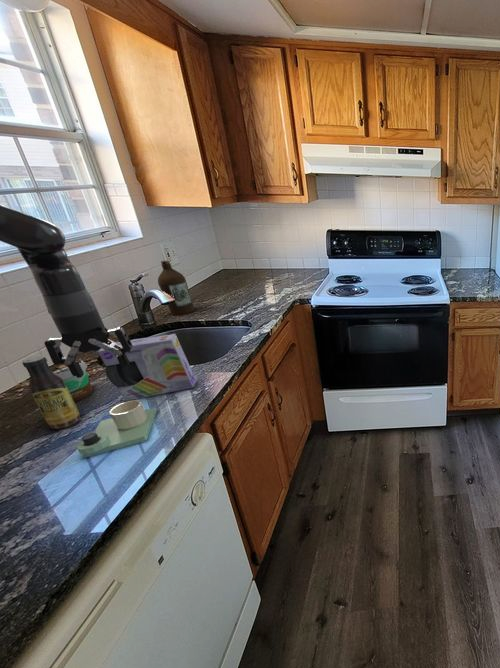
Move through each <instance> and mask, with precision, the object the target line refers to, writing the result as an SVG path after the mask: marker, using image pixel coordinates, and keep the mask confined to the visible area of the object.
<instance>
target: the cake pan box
mask: <svg viewBox="0 0 500 668" xmlns="http://www.w3.org/2000/svg"><path fill="white" fill-rule="evenodd" d="M130 341H131V343H132V345H133V347H132V348H131V350H130V351H129V352H126V355H127V358H128V360H129V364H128V366H127V368H126V369H122V368H121V366H120V364H119V362H118V359H117V357H116V356H117V355H116V354H114V353H112V352H110V351H106V350H104V349H102V348H101V349H100V350H97V353H98V355H99V357H100V358H101V361H102V362H103V364H104V365H105V368H104V369H105V374H106V377H107V379H108V380H109V382H110V383H111V384H112V385H114V387H116V388H117V389H118V391H119V393H120V394H121V396H122V398H123V400H124V402H127V401H131V400H138V399H143V398H147V397H152V396H153V397H154V396H157V395H163V394H168V393H173V392H179V391H184V390H188V389H193V388H194V386H195V385H196V383H197V379H196V376H195V374H194V372H193V370H192V367H191V366H190V363H189V361H188V358H187V356H186V354H185V352H184V350H183V347H182V345H181V343H180V341H179V339H178V336H177V334H176V333H171V334H166V335H159V336H158V335H157V336H151V337H141V338H134V339H130ZM115 343H116V344H117V345H119V346H121V347H122V345H121V343H120V341H117V342H115Z"/></svg>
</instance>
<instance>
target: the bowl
mask: <svg viewBox="0 0 500 668" xmlns="http://www.w3.org/2000/svg"><path fill="white" fill-rule="evenodd" d="M145 410H146V409H145V408H144V405H143V403H142V402H141V400H138V399H133V400H127V401H124V402H121V403H119V404H117V405H115V406H113V407H112V408H111V409H110V410H109V412H108V413H109V415H110V418H112V419H113V421H114V423H115V425H116V426H117V428H119V429H131V428H134V427H136V426H139V425H140V424H142V423H143V422H144V421H145V420H146V419H147V414H146V412H145Z"/></svg>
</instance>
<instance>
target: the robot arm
mask: <svg viewBox="0 0 500 668" xmlns="http://www.w3.org/2000/svg"><path fill="white" fill-rule="evenodd" d="M0 242H2V243H4V244H7V245H9V246H11V247H15V248H16V249H17V251H18V252H19V253H20V255H21V257H22V258H23V260H24V262H25V263H26V264H27V266H28V268H29V269H30V271H31V274H32V277H33V279H34V282H35V283H36V286H37V288H38V290H39V292H40V293H41V296H42V298H43V302H44V305H45V307H46V309H47V313H48V314H49V315H50V317H51V318H52V320H53V322H54V325H55V326H56V329H57V331H58V332H59V334H60V335H61V337H54V336H50V337H48V338H47V339H46V340H45V341H44V346H45V348H46V351H47V353H48V355H49V357H50V360H51V362H52V364H54V365H57V366H58V365H66V367H67V366H68V368H69V370H70V372H71V374H72V375H73V376H76V377H77V378H80V377H82V376H83V375H84V372H83V370H82V368H81V366H80V364H79V362H80V361H79V360H76V358H77V357H78V355H79V353H82V354H83V353H88V352H91V351H93V352H95V351H97V352H98V351H99V350H100V349H101V348H102V349H104V350H106V351H110V352H112V353H114V354H116V355H117V356H116V357H117V359H118V362H119V364H120V366H121V368H122V369H126V368H127V366H128V364H129V360H128V358H127V355H126V352H129V351H130V350H131V348H132V347H133V345H132V343H131V341H130V340H131V339H130V338H129V337H130V336H129V335H128V334H127V331H126V329H125V327H123V326H118V327H116V328H113V329H107V327H106V326H105V324H104V322H103V319H102V318H101V315H100V312H99V310H98V309H97V306H96V303H95V302H94V300H93V298H92V295H91V294H90V292H89V291H88V289H87V288H86V286H85V283H84V281H83V279H82V277H81V275H80V272H79V271H78V269H77V268H76V266H75V265H74V264H73V263H72V262H71V261H70V258H69V256H68V253H67V250H66V249H65V245H66V237H65V234H64V233H63V231H62V230H61V229H60V228H59V227H58V226H56V225H55V224H53V223H51V222H49V221H46V220H44V219H41V218H38V217H35V216H33V215H30V214H27V213H24V212H22V211H20V210H17V209H13V208H11V207H9V206H5V205H2V204H0ZM110 336H113V338H116V339H118V342H120V343H121V345H122V347H121V346H119V345H117V344H116V343H117V342H115V341H114V340H112V339H110V338H109V337H110ZM62 344H63V345H65V346H67V347H69V348H70V349H69V351H68V353H67V356H64V354H63V352H62V350H61V346H62Z"/></svg>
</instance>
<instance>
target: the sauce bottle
mask: <svg viewBox="0 0 500 668" xmlns="http://www.w3.org/2000/svg"><path fill="white" fill-rule="evenodd" d="M21 363H22V367H23V368H25V369H26V371H27V372H28V374H29V375H28V376H29V382H28V386H29V390H30V393H31V395H32V397H33V399H34V401H35V403H36V405H37V407H38V409H39V411H40V412H41V414H42V417H43V418H44V421H46V423H47V425H48V426H49V427H50V429H51V430H61V429H65V428H68V427H71V426H73V425H75V424H77V423H78V422H79V421H80V420H81V415H80V411H79V409H78V407H77V405H76V403H75V402H74V401H73V399H72V397H71V395H70V393H69V391H68V389H67V387H66V386H65V384H64V382H63V380H62V378H61V377H60V376H58V375H56V374H54V373H53V371H52V369H51V368H50V366H49V364H48V359H47V358H46V356H44V355H35V356H31V357H28V358H25V359H23V360H22V362H21Z"/></svg>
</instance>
